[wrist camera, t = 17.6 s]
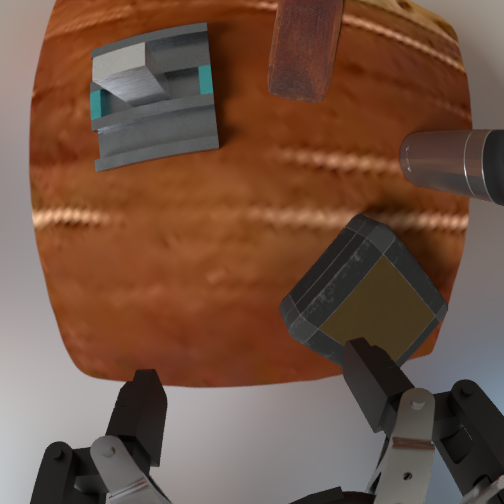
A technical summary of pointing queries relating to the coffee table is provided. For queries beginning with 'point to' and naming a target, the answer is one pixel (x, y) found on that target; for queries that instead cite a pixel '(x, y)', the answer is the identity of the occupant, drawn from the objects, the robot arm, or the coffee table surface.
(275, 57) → the wooden tablet
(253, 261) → the coffee table surface
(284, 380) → the coffee table surface
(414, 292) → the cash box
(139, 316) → the coffee table surface
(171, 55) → the rack
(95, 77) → the panel
